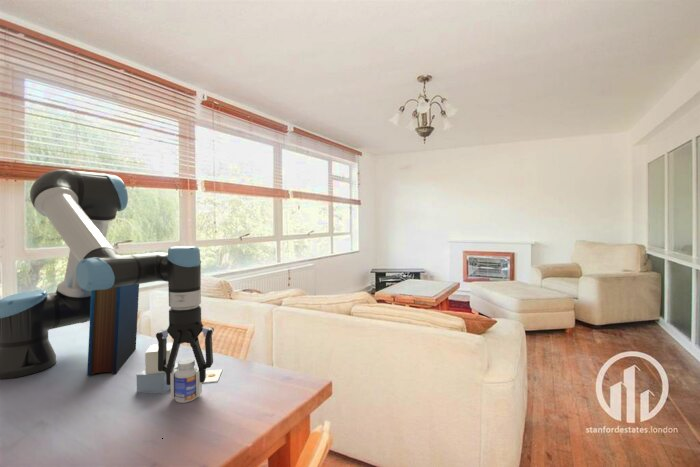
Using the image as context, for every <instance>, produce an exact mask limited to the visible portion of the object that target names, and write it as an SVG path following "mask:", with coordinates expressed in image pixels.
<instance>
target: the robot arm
mask: <svg viewBox="0 0 700 467" xmlns="http://www.w3.org/2000/svg"><path fill="white" fill-rule="evenodd" d="M29 198H30V203H31V204H32V206H33V207H34V209H35V210H36V212H37V213H38V214H39V215H41V216H44V217H45V218H46V219H48V221H49V222H50V223H51V225H52V226H53V228H54V229H55V230H56V231H57V233H58V235H59V236H60V237H61V239H62V240H63V242H64V243H65V245H66V246H67V247H68V250H69V253H68V259H67V264H66V269H65V274H64V279H63V281H61V282H59V283H58V285H56V289H55V290H56V291H55V292H50V293H48V292H47V290H45V289H35V290H31V291H30V290H28V291H23V292H19V293H18V292H17V293H14V294H11V295H8V296H5V297H3V298H1V299H0V380H1V379H4V380H5V379H15V378H19V377H25V376H29V375H32V374H36V373H38V372H42V371H44V370H47V369H49V368H50V367H53V366H55V364H56V363H57V353H55V350H54V347H53V346H52V344H51V342H50V340H49V331H50V330H53V329H58V328H63V327H68V326H73V325H77V324H84V323H86V322H90V306H91V291H93V290H106V289H110V288H116V287H122V286H128V285H134V284H139V285H141V284H146V283H154V282H167V283H168V284H167V285H168V289H167V290H168V291H167V292H168V307H170V308H169V309H168V326H167V328H166V329H161V330H159V331H158V332H157V333H155V337H156V340H157V344H158V371H164V372H166V383H167V385H171V389H170V399H171V400H175V372H176V371H177V369H174V370H173V368H174V367H175V366H174V365H175V363H176V361H177V358H178V353H179V349H180V346H181V344H184V343H186V344H189V347H190V348H191V349H192V352H193V356H194V360H195V361H196V362H195V363H196V364H197V371H196V397H197V398H198V397H200V396H201V394H202V393H203V390H202V389H203V383H202V382H204V381H205V378H206V370H207V369H209V368H211V367H212V365H213V363H214V355H213V353H214V352H213V333H214V331H215V328H214V327H205V326H204V325H203V322H202V306H201V304H202V290H201V287H202V286H201V285H202V284H201V283H202V281H201V280H202V277H201V276H202V272H201V271H202V270H201V269H202V268H201V264H202V261H201V260H202V259H201V250H200V248H199V247H197V246H195V245H188V246H187V245H179V246H171V247H169V248H168V250H167V252H161V251H149V252H145V253H141V254H140V253H139V254H127V255H119V253H118V252H117V251H116V250H115V249H114V247H113V246H112V244H110V242H109V240H108V239H107V238H106V236H107V232H108V226H109V223H110V222H111V221H114V220H115V219H116V216H117V213H118V212H121V211H124V210H125V209H126V208H127V207H128V203H129V194H128V189H127V187H126V184H125V183H124V181H123V180H122V178H121V177H119V176H118V175H114V174H107V173H105V172H93V171H92V172H91V171H90V172H89V171H81V170H79V171H78V170H71V169H65V168H64V169H55V170H51V171H47V172H45V173H43V174H42V175H41V176H39V177H38V178H37V179H36V180H35V181H34V182H33V184H32V186H31V188H30V192H29ZM201 333H203V334H202V335H203V337H204V347H205V350H204V352H205V358H204V354H203V351H202V348H201V345H200V344H201V343H200V340H199V335H200V334H201ZM168 336H170V337H171V338H172V340H173V342H172V343H173V345H172V350H171V353H170V357H169V360H168V364H166V353H167V343H168V342H167V341H168V340H167V338H168Z"/></svg>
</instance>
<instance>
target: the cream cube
mask: <svg viewBox="0 0 700 467" xmlns="http://www.w3.org/2000/svg"><path fill="white" fill-rule="evenodd" d="M172 345H173V342H169V343H168V342H167V353H166V364H168V360H169V357H170V353H171V350H172ZM144 353H145V354H144V356H145V357H144V361H145V363H144V365H145V367H144V368H145V369H144V370H146V374H156V373H165V372H164V371H158V343H156V344H150V346H149V347H148V348H147V349H146V351H145V352H144Z"/></svg>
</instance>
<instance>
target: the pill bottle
mask: <svg viewBox="0 0 700 467" xmlns="http://www.w3.org/2000/svg"><path fill="white" fill-rule="evenodd" d="M195 361H196V359H195V358H190V357H188V358H183V359H180V360H179V361H178V362H177V363H178V366H177V367H178V370H177V371H176V372H175V398H174V401H176V402H177V403H179V404H184V403H190V402H192V401H194V400H196V399H197V398H198V397H196V371H197V369H198V367H196V366H195V365H196V362H195Z"/></svg>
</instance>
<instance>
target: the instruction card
mask: <svg viewBox="0 0 700 467" xmlns="http://www.w3.org/2000/svg"><path fill="white" fill-rule="evenodd" d="M222 372H223V369H222V368H221V369H209V370H207V369H206V378H205V381H204V382H202V384H211V383H218V381H219V379H220V376H221V375H222Z"/></svg>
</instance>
